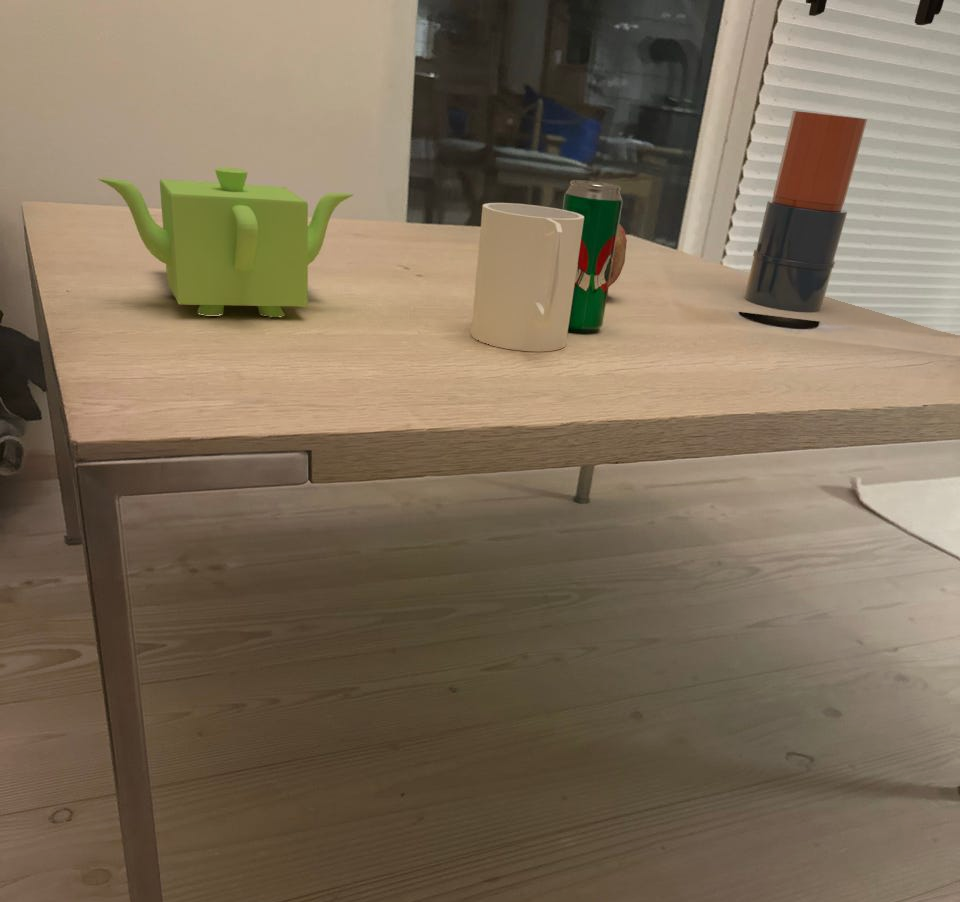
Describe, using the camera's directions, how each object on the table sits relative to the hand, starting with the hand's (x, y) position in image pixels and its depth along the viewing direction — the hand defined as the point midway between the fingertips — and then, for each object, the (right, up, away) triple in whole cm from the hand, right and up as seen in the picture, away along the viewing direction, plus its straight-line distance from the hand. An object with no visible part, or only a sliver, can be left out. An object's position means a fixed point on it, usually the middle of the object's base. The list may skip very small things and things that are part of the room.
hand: (869, 19), depth 84 cm
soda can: (-27, -28, +1) cm, 38 cm away
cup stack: (-4, -22, +15) cm, 27 cm away
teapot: (-56, -28, -5) cm, 63 cm away
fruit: (-24, -20, +15) cm, 35 cm away
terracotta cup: (-3, -13, +9) cm, 16 cm away
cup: (-32, -32, -6) cm, 45 cm away
